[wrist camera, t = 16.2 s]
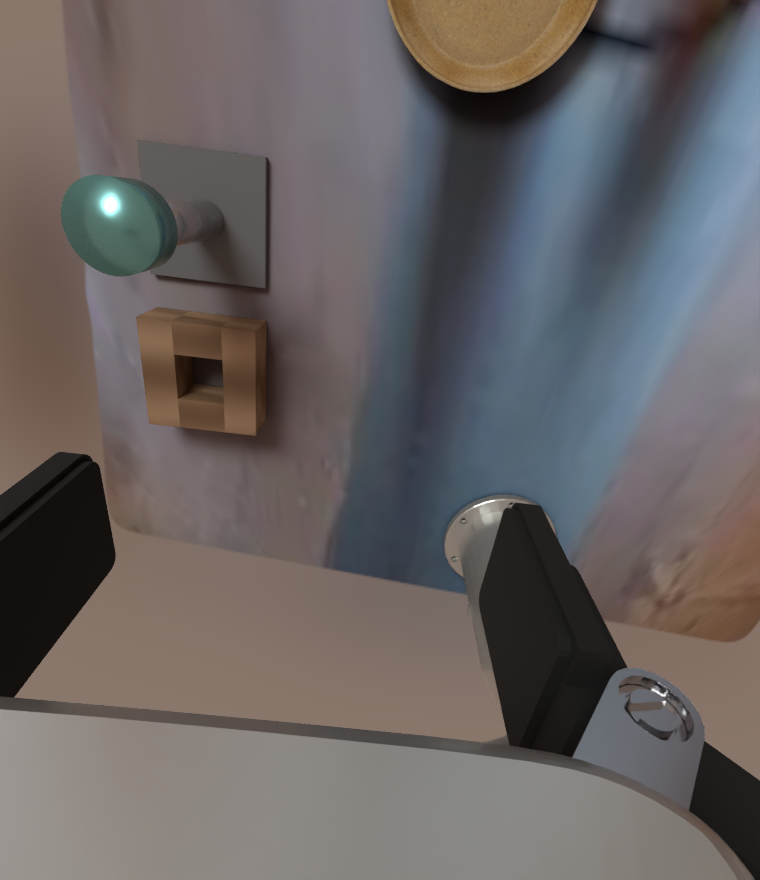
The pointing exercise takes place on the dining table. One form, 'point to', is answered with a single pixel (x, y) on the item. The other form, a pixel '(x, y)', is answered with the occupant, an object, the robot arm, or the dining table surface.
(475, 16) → the plant saucer
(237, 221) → the rubber pad
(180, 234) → the teal capped rod
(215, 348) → the eye block
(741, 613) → the dining table surface
